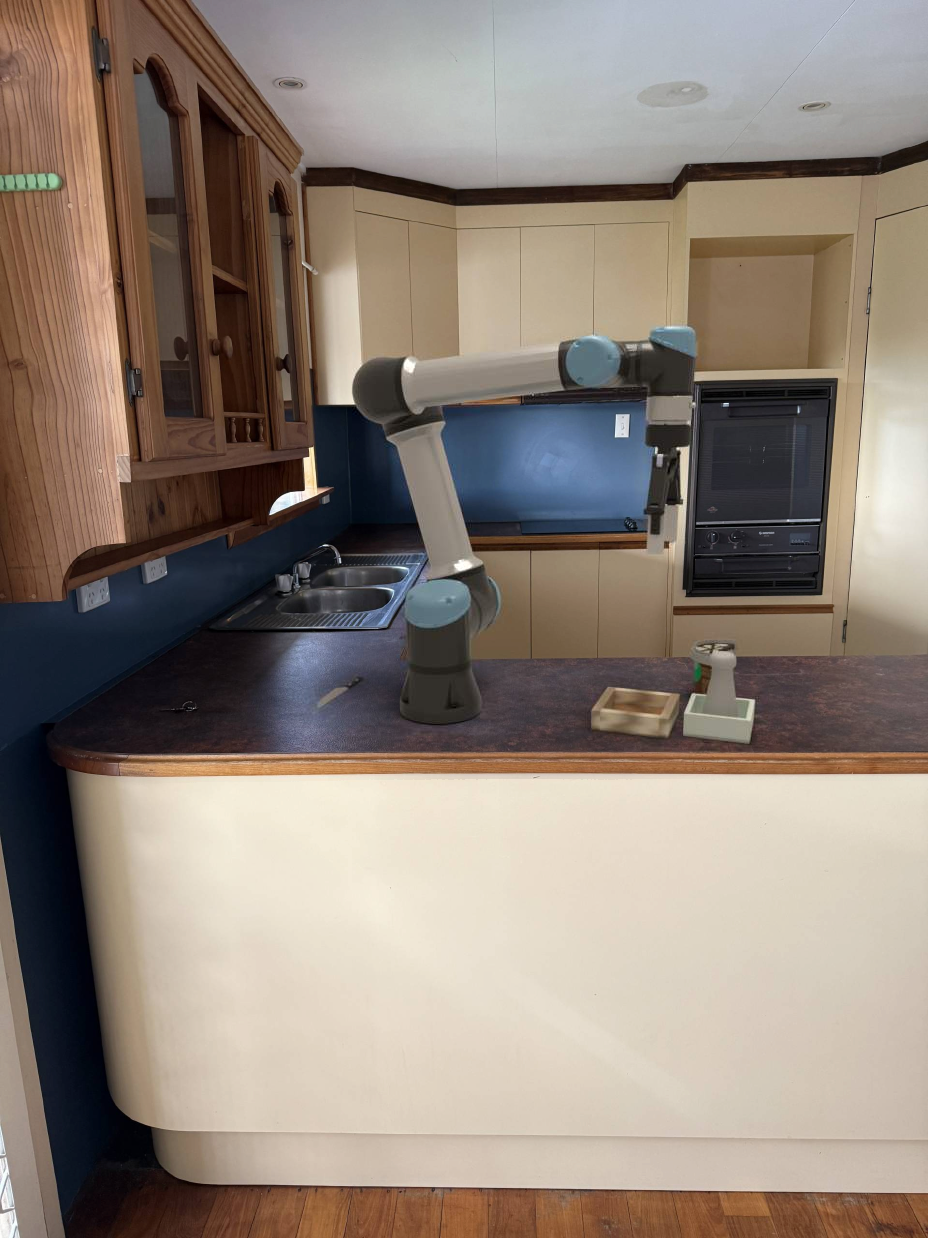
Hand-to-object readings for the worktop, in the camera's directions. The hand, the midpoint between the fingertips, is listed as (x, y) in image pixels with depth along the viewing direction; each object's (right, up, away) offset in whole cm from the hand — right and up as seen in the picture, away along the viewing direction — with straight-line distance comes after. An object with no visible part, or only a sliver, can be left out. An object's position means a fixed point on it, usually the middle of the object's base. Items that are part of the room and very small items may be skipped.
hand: (662, 547), depth 147 cm
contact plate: (-4, -31, +1) cm, 31 cm away
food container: (+12, -27, +13) cm, 32 cm away
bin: (+9, -31, -4) cm, 33 cm away
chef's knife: (-60, -28, +19) cm, 69 cm away
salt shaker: (+9, -31, -4) cm, 33 cm away
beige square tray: (-4, -31, +1) cm, 31 cm away
